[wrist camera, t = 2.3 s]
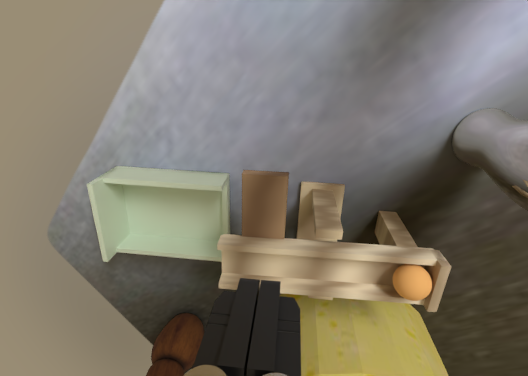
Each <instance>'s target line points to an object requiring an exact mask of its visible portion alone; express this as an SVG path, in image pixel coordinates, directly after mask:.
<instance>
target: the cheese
mask: <svg viewBox="0 0 528 376" xmlns="http://www.w3.org/2000/svg"><path fill="white" fill-rule="evenodd" d="M280 296H283V297H293V298H295V300H296V302H297V304H298V306H299V308H300V328H301V333H300V335H301V376H448V374H447V371H446V369H445V367H444V365H443V363H442V361H441V359H440V356H439V354H438V352H437V350H436V348H435V346H434V343H433V341H432V339H431V337H430V335H429V333H428V331H427V328H426V326H425V324H424V322H423V320H422V318H421V316H420V313H419V312H417V311H416V310H415V309H414V308H413V307H412V306H411V305H410V304H408V303H396V302H383V301H371V300H358V299H346V298H333V300H325V299H314V298H308V295H296V294H283V293H282V294H281V295H280Z"/></svg>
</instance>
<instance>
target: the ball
mask: <svg viewBox="0 0 528 376" xmlns="http://www.w3.org/2000/svg"><path fill="white" fill-rule="evenodd" d="M393 285H394V288H395V290H396V291H397V293H398V294H399V295H400V296H402V297H403V298H405V299H407V300H411V301H418V300H422V299H424V298H426V297H427V296H428V295H429V293H430V292H431V289H432V280H431V277H430V275H429V273H428V272H427V271H426V270H425V269H424V268H423V267H421V266H419V265H416V264H404V265H401V266H400V267H398V268H397V269H396V271H395V272H394V274H393Z"/></svg>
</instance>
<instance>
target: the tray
mask: <svg viewBox="0 0 528 376" xmlns="http://www.w3.org/2000/svg"><path fill="white" fill-rule="evenodd" d="M87 188H88V193H89V197H90V202H91V207H92V211H93V216H94V221H95V225H96V230H97V235H98V240H99V244H100V249H101V254H102V258H103V261H104V262H108V261H109V260H110V259H111V258H112V257H113V256H114V255H115V254H116V253H117V252H121V253H132V254H142V255H153V256H164V257H175V258H186V259H197V260H208V261H219V262H222V254H221V250H217V244H218V241H219V239H220V236H221V235H223V234H230V184H229V173H215V172H200V171H185V170H170V169H155V168H140V167H125V166H116V167H115V168H113V169H111V170H110V171H108V172H106V173H105V174H103V175H101V176H100V177H98V178H96V179H95V180H93V181H91V182H90V183H88V184H87Z"/></svg>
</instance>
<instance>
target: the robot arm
mask: <svg viewBox="0 0 528 376" xmlns="http://www.w3.org/2000/svg"><path fill="white" fill-rule="evenodd" d="M280 284H281V281H270V280H261V284H260V280H258V279H247V278H240V280H239V283H238V287H237V291H236V292H229V291H224V292H223V293H222V294H221V295H220V296H219V297H218V298H217V299H216V300H215V303H214V306H213V309H212V312H211V315H210V318H209V321H208V325H207V326H206V329H205V332H204V335H203V338H202V341H201V344H200V347H199V350H198V353H197V356H196V359H195V362H194V364H193V367H192V369H191V370H189V371H188V372H187V373H186V374H185V375H184V376H301V335H300V333H301V328H300V308H299V306H298V304H297V302H296V300H295V298H293V297H283V296H280Z"/></svg>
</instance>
